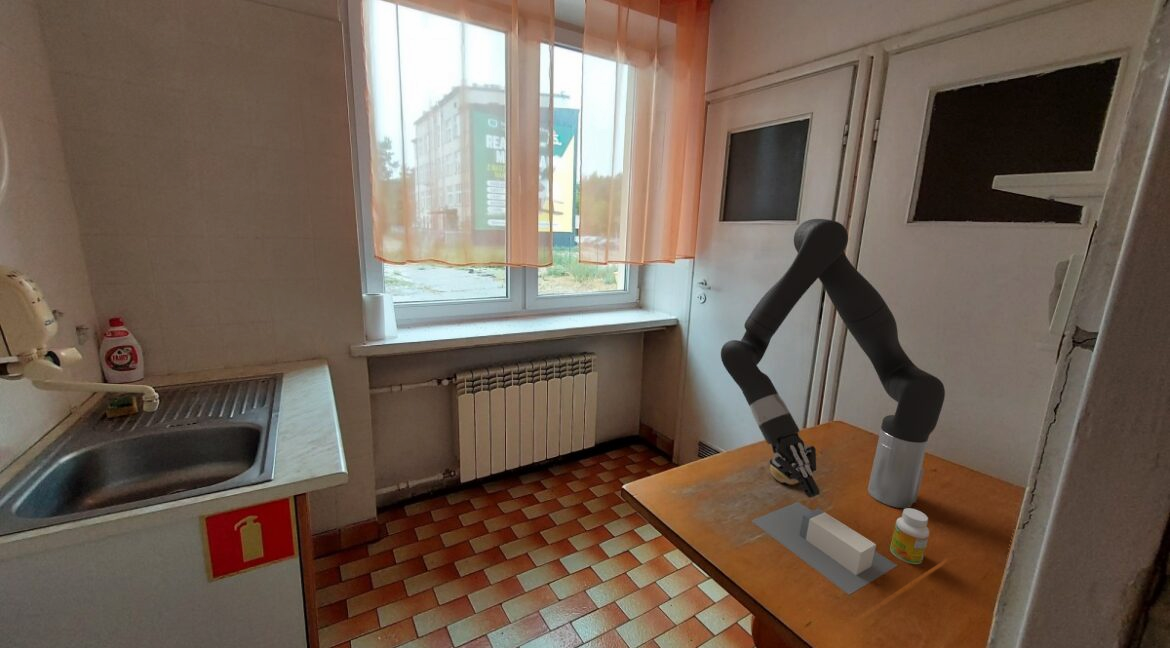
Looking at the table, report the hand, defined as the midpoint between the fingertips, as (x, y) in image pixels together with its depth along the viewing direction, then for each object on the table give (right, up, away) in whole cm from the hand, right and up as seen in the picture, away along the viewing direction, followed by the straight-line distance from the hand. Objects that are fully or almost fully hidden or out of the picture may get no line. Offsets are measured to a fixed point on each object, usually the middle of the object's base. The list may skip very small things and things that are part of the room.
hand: (814, 495), depth 92 cm
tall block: (0, -6, +2) cm, 6 cm away
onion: (+4, -5, +22) cm, 23 cm away
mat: (+1, -10, -1) cm, 10 cm away
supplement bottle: (+17, -11, -3) cm, 21 cm away
